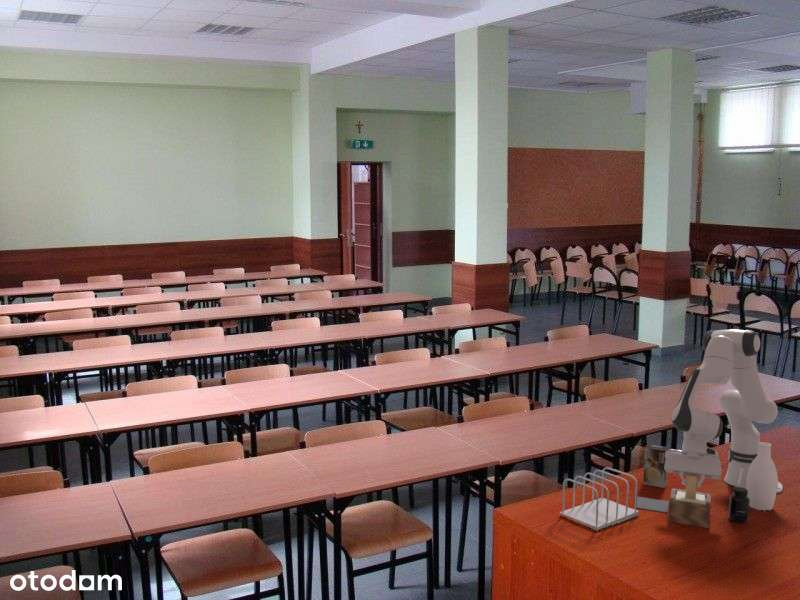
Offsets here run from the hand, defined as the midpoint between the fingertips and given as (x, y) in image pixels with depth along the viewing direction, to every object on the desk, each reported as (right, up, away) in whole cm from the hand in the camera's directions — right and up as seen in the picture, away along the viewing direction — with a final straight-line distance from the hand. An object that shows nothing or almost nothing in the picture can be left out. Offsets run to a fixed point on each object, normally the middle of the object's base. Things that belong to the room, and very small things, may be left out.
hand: (691, 485), depth 288 cm
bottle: (+32, -12, +15) cm, 37 cm away
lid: (0, -6, +1) cm, 6 cm away
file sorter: (-34, -13, +2) cm, 36 cm away
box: (0, -13, +2) cm, 13 cm away
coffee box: (-1, -9, +37) cm, 38 cm away
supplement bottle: (+18, -13, +1) cm, 22 cm away
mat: (-10, -11, +14) cm, 20 cm away
